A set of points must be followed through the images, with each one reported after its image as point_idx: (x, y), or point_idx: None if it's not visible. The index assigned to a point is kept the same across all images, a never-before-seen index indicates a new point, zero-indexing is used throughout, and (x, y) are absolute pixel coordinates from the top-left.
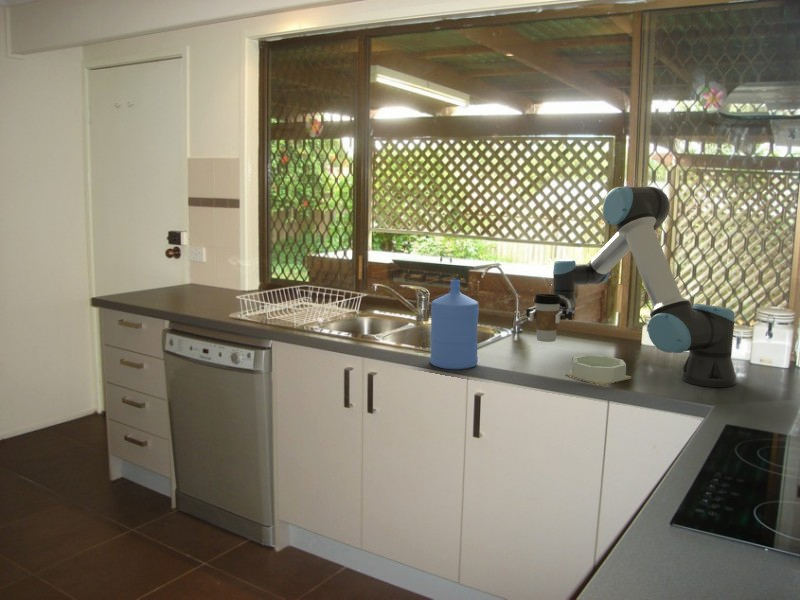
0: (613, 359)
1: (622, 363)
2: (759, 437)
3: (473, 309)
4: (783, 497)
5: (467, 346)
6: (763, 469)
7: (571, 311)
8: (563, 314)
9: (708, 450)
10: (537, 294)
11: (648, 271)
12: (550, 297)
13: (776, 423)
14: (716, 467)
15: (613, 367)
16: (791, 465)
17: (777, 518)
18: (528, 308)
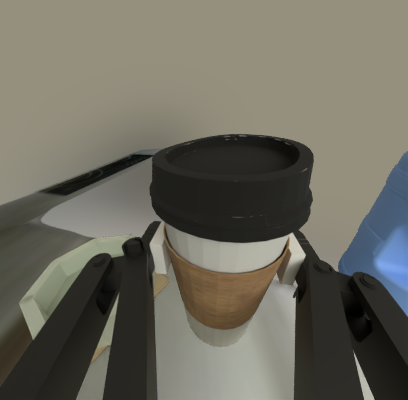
0: (38, 308)
1: (51, 269)
2: (64, 187)
3: (404, 170)
4: (111, 162)
5: (355, 236)
6: (100, 170)
7: (79, 281)
8: (148, 236)
9: (112, 175)
10: (278, 138)
11: None
12: (204, 141)
13: (17, 202)
14: (120, 168)
15: (91, 241)
16: (82, 173)
17: (123, 158)
18: (398, 311)
